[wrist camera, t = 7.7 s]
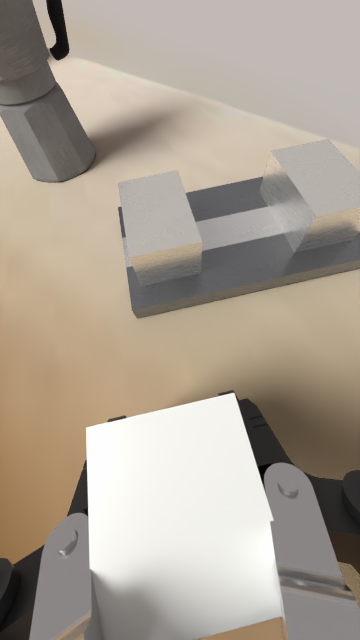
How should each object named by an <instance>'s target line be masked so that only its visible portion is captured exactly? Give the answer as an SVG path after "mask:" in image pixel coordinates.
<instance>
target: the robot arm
mask: <svg viewBox="0 0 360 640" xmlns="http://www.w3.org/2000/svg"><path fill="white" fill-rule="evenodd" d="M231 393H235V392H234V391H233V390H231V391H227V392H223V393H218V396H222V395H226V394H231ZM235 396H236V394H235ZM236 400H237V403H238V406H239V409H240V413H241V416H242V419H243V422H244V426H245V429H246V432H247V435H248V439H249V442H250V445H251V448H252V452H253V455H254V458H255V461H256V465H257V468H258V471H259V474H260V478H261V481H262V484H263V487H264V491H265V494H266V497H267V500H268V504H269V507H270V510H271V513H272V517H273V520H274V521H270V526H271V534H272V542H273V550H274V558H275V565H276V572H277V579H278V587H279V596H280V605H281V613H282V616H281V617H280V619H281V628H282V636H283V640H360V608H359V606H358V603H357V601H356V599H355V597H354V595H353V593H352V591H351V590H350V589H349V588H348V587H347V585H346V583H345V581H344V579H343V576H342V574H341V571H340V568H339V565H338V562H343V563H348V564H351V565H352V566H353V567H354V568H355V569H356V571H357V572H358V573H359V574H360V470H356V471H351V472H349V473H347V474H346V475H345V477H344V479H343V481H342V480H334V479H325V478H318V477H314V476H311V475H308V474H306V473H304V472H303V471H301V470H300V469H298V468H297V467H296V466H295V465H294V464H293V463H292V462H291V461H290V459H289V458H288V456H287V455H286V453H285V451H284V450H283V448H282V447H281V445H280V443H279V442H278V440H277V438H276V437H275V435H274V433H273V432H272V430H271V429H270V427H269V425H268V424H267V422H266V420H265V419H264V417H263V416H262V414H261V412H260V411H259V409H258V407H257V406H256V405H255V404H254V403H252V402H251V401H250V400H248V399H244V400H240V401H239V400H238V398H237V396H236ZM125 418H126V416H121V417H116V418H112V419H109V420H108V422H112V421H116V420H121V419H125ZM108 422H107V423H108ZM337 561H338V562H337ZM0 640H103V639H102V635H101V631H100V624H99V607H98V602H97V597H96V592H95V587H94V582H93V577H92V572H91V569H90V560H89V520H88V481H87V460H86V461H85V464H84V467H83V470H82V473H81V476H80V479H79V482H78V485H77V488H76V491H75V494H74V497H73V500H72V503H71V506H70V509H69V512H68V515H67V517H66V518H65V519H63V520H62V521H61V522H60V523H59V524H58V525H57V526H56V527H55V528H54V530H53V531H52V533H51V534H50V536H49V537H48V539H47V541H46V543H45V545H43V546H42V547H41V548H39V549H37V550H36V551H34V552H33V553H31V554H30V555H28V556H26V557H25V558H23V559H22V560H20V561H18V562H17V563H15V564H14V565H13V564H12V563H11V562H10V561H9V560H8V559H5V558H0Z"/></svg>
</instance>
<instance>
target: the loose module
mask: <svg viewBox="0 0 360 640" xmlns="http://www.w3.org/2000/svg"><path fill="white" fill-rule="evenodd" d="M86 441H87V481H88V520H89V560H90V569H91V572H92V577H93V582H94V587H95V592H96V597H97V602H98V607H99V624H100V631H101V635H102V639H103V640H196V639H200V638H204V637H207V636H211V635H215V634H218V633H222V632H226V631H229V630H233V629H237V628H240V627H244V626H248V625H251V624H255V623H259V622H263V621H266V620H270V619H274V618H277V617H281V616H282V613H281V605H280V596H279V587H278V579H277V572H276V565H275V558H274V550H273V542H272V534H271V526H270V521H274V520H273V517H272V513H271V510H270V507H269V504H268V500H267V497H266V494H265V491H264V487H263V484H262V481H261V478H260V474H259V471H258V468H257V465H256V461H255V458H254V455H253V452H252V448H251V445H250V442H249V439H248V435H247V432H246V429H245V426H244V422H243V419H242V416H241V413H240V409H239V406H238V403H237V400H236V396H235V393H231V394H226V395H222V396H218V397H214V398H209V399H205V400H201V401H197V402H193V403H188V404H184V405H180V406H176V407H171V408H167V409H163V410H159V411H154V412H150V413H146V414H142V415H138V416H133V417H129V418H125V419H121V420H116V421H112V422H108V423H104V424H99V425H95V426H91V427H87V428H86Z"/></svg>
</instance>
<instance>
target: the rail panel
mask: <svg viewBox="0 0 360 640" xmlns="http://www.w3.org/2000/svg"><path fill="white" fill-rule="evenodd" d="M118 186H119V193H120V200H121V207H118V210H119V217H120V225H121V232H122V239H123V246H124V254H125V261H126V268H127V276H128V283H129V290H130V298H131V305H132V311H133V313H134V314H135V316H136V317H137V318H141V317H146V316H150V315H155V314H159V313H164V312H168V311H173V310H177V309H181V308H186V307H190V306H195V305H199V304H204V303H208V302H212V301H217V300H221V299H226V298H230V297H235V296H239V295H244V294H248V293H252V292H257V291H261V290H266V289H270V288H275V287H279V286H284V285H288V284H292V283H297V282H301V281H306V280H310V279H315V278H319V277H324V276H328V275H332V274H337V273H341V272H346V271H350V270H355V269H359V268H360V233H359V231H360V173H359V172H358V171H357V170H356V168H355V167H354V166H353V165H352V164H351V163H350V162H349V161H348V160H347V159H346V158H345V157H344V156H343V155H342V154H341V152H340V151H339V150H338V149H337V148H336V147H335V146H334V145H333V144H332V143H331V142H330V141H329V140H328V139H327V140H322V141H317V142H312V143H307V144H302V145H298V146H293V147H288V148H283V149H278V150H274V151H271V152H270V156H269V159H268V163H267V166H266V169H265V173H264V176H263V177H259V178H255V179H250V180H245V181H240V182H236V183H231V184H226V185H221V186H217V187H212V188H207V189H202V190H198V191H193V192H188V193H185V191H184V188H183V185H182V182H181V179H180V176H179V173H178V171H172V172H167V173H163V174H158V175H153V176H148V177H143V178H139V179H134V180H129V181H124V182H119V183H118Z"/></svg>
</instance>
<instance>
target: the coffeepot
mask: <svg viewBox="0 0 360 640" xmlns="http://www.w3.org/2000/svg"><path fill="white" fill-rule="evenodd" d="M46 2H47V10H48V14H49V17H50V20H51V23H52V26H53V28H54V31H55V35H56V44H55V45H54V46H53V47H52V48H50V52H51V54H52V55H53V57H54V58H55V59H56V60H61V59H63V58H64V57H65V56H67V55H68V53H69V44H68V38H67V32H66V26H65V20H64V14H63V8H62V3H61V0H46ZM48 57H49V53H48V50H47V47H46V44H45V41H44V37H43V34H42V31H41V28H40V25H39V21H38V18H37V15H36V12H35V8H34V5H33V2H32V0H0V116H1V118H2V120H3V122H4V124H5V126H6V128H7V129H8V131H9V133H10V135H11V137H12V139H13V141H14V143H15V145H16V147H17V148H18V150H19V152H20V154H21V156H22V158H23V160H24V162H25V164H26V166H27V168H28V169H29V171H30V173H31V175H32V177H33V179H36V180H39V181H43V182H61V181H65V180H69V179H72V178H74V177H76V176H78V175H80V174H81V173H83V172H84V171H86V170H87V169H88V168H89V167H90V165H91V164H92V162H93V160H94V156H95V154H96V151H95V150H94V148H93V146H92V144H91V142H90V140H89V138H88V137H87V135H86V133H85V131H84V129H83V127H82V125H81V124H80V122H79V120H78V118H77V116H76V114H75V113H74V111H73V109H72V107H71V105H70V103H69V101H68V100H67V98H66V96H65V94H64V92H63V90H62V89H61V87H60V86H59V84H58V83H57V82H56V81H55V78H54V76H53V73H52V71H51V69H50V66H49V64H48V62H47V59H48Z"/></svg>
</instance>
